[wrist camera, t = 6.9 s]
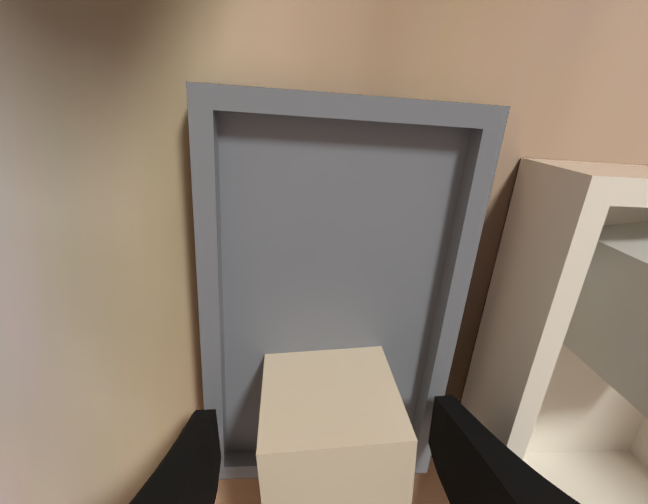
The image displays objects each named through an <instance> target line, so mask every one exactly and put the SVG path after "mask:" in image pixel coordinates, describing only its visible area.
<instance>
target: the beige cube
mask: <svg viewBox="0 0 648 504" xmlns="http://www.w3.org/2000/svg"><path fill="white" fill-rule="evenodd" d="M417 442H418V440H417V438H416V435H415V432H414V430H413V427H412V425H411V422H410V419H409V417H408V414H407V412H406V409H405V406H404V404H403V401H402V398H401V396H400V393H399V391H398V388H397V385H396V383H395V380H394V377H393V375H392V372H391V370H390V367H389V364H388V362H387V359H386V357H385V354H384V351H383V349H382V346H377V347H362V348H347V349H333V350H318V351H304V352H289V353H275V354H265V357H264V369H263V380H262V392H261V403H260V415H259V426H258V438H257V449H256V459H257V468H258V477H259V486H260V495H261V504H412V495H413V485H414V474H415V464H416V453H417Z"/></svg>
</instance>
